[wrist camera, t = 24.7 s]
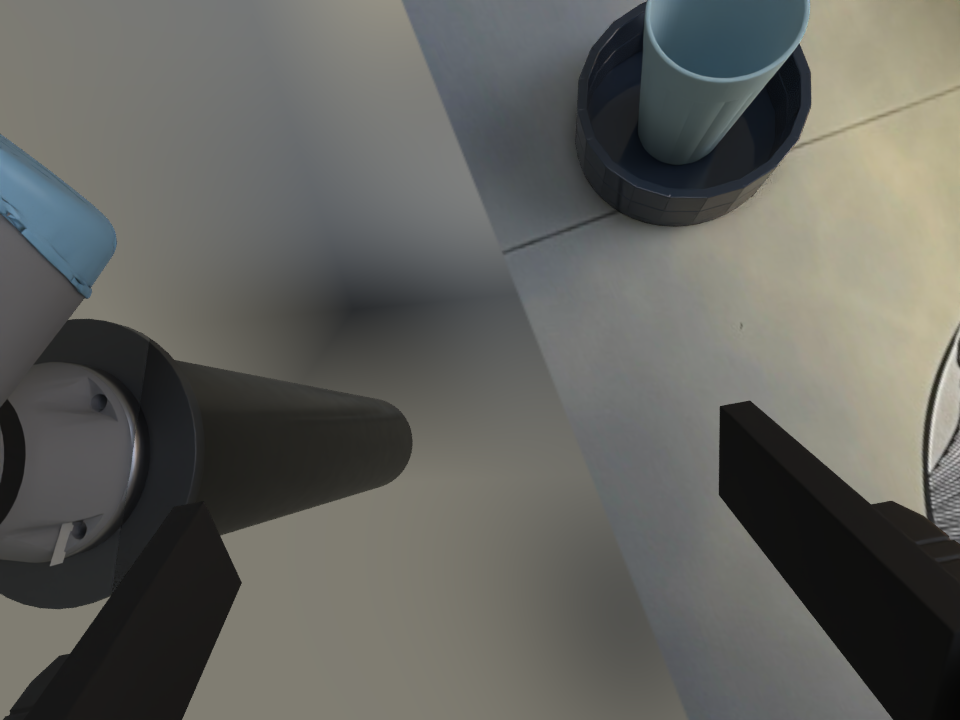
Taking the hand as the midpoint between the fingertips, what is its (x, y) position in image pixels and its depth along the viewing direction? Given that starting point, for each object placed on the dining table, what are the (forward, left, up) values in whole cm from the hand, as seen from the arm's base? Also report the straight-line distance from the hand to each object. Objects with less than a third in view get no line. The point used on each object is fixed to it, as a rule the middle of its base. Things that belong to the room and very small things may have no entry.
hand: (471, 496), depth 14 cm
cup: (+9, +23, -22) cm, 33 cm away
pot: (+9, +23, -22) cm, 33 cm away
